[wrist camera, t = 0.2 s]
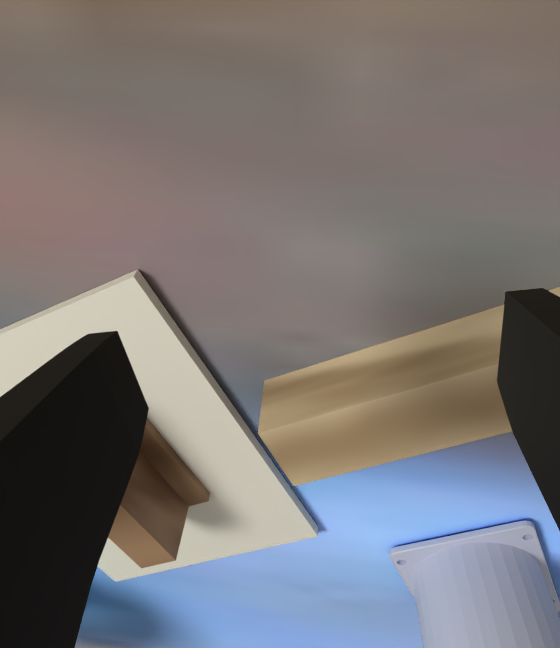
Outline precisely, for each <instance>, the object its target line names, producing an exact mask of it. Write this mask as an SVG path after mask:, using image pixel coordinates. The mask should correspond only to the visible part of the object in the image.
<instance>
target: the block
mask: <svg viewBox="0 0 560 648" xmlns="http://www.w3.org/2000/svg"><path fill="white" fill-rule="evenodd" d="M209 497H210V492H209V491H208V490H207V489H206V488H205V486H204V485H203V484H202V483H201V482H200V480H199V479H198V478H197V477H196V476H195V474H194V473H193V472H192V471H191V470H190V468H189V467H188V466H187V465H186V464H185V462H184V461H183V460H182V459H181V458H180V456H179V455H178V454H177V453H176V452H175V450H174V449H173V448H172V447H171V446H170V444H169V443H168V442H167V441H166V440H165V438H164V437H163V436H162V435H161V434H160V432H159V431H158V430H157V429H156V428H155V426H154V425H153V424H152V423H151V422H150V420H149V419H148V418H147V420H146V425H145V430H144V435H143V439H142V443H141V448H140V452H139V455H138V458H137V461H136V464H135V467H134V469H133V472H132V475H131V478H130V480H129V483H128V486H127V488H126V491H125V494H124V496H123V499H122V502H121V504H120V507H119V510H118V512H117V515H116V518H115V520H114V523H113V525H112V528H111V531H110V533H109V536H108V538H109V539H110V540H111V541H112V542H114V543H115V544H116V545H117V546H118V547H119V548H120V549H121V550H122V551H123V552H124V553H125V554H126V555H128V556H129V557H130V558H131V559H132V560H133V561H134V562H135V563H136V564H137V565H138V566H139V567H140V568H145V567H150V566H154V565H158V564H163V563H167V562H172V561H176V558H177V554H178V550H179V545H180V541H181V537H182V533H183V529H184V525H185V521H186V516H187V512H188V508H189V506H193V505H196V504H200V503H204V502H208V501H209Z"/></svg>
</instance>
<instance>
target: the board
mask: <svg viewBox="0 0 560 648" xmlns="http://www.w3.org/2000/svg"><path fill="white" fill-rule="evenodd" d="M110 331H118V333H119V336H120V338H121V341H122V343H123V346H124V348H125V351H126V353H127V356H128V358H129V361H130V363H131V366H132V368H133V371H134V373H135V375H136V378H137V380H138V383H139V385H140V388H141V390H142V393H143V395H144V398H145V400H146V403H147V405H148V408H149V410H148V415H147V418H148V419H149V420H150V422H151V423H152V424H153V425H154V426H155V428H156V429H157V430H158V431H159V432H160V434H161V435H162V436H163V437H164V438H165V440H166V441H167V442H168V443H169V444H170V446H171V447H172V448H173V449H174V450H175V452H176V453H177V454H178V455H179V456H180V458H181V459H182V460H183V461H184V462H185V464H186V465H187V466H188V467H189V468H190V470H191V471H192V472H193V473H194V474H195V476H196V477H197V478H198V479H199V480H200V482H201V483H202V484H203V485H204V486H205V488H206V489H207V490H208V491H209V492H210V497H209V501H208V502H204V503H200V504H196V505H193V506H189V508H188V512H187V516H186V521H185V525H184V529H183V533H182V537H181V541H180V545H179V550H178V554H177V558H176V561H172V562H167V563H163V564H158V565H154V566H150V567H145V568H140V567H139V566H138V565H137V564H136V563H135V562H134V561H133V560H132V559H131V558H130V557H129V556H128V555H126V554H125V553H124V552H123V551H122V550H121V549H120V548H119V547H118V546H117V545H116V544H115V543H114V542H112V541H111V540H110V539H109V538H108V539H107V541H106V544H105V547H104V549H103V552H102V555H101V557H100V560H99V563H98V567H99V568H100V569H101V570H102V571H104V572H105V573H106V574H107V575H108V576H109V577H110V578H112V579H113V580H114V581H115V582H116V581H121V580H125V579H130V578H134V577H139V576H143V575H148V574H152V573H157V572H161V571H165V570H170V569H174V568H179V567H183V566H188V565H192V564H197V563H201V562H206V561H210V560H215V559H219V558H223V557H228V556H232V555H237V554H241V553H246V552H250V551H255V550H259V549H264V548H268V547H273V546H277V545H282V544H286V543H290V542H295V541H299V540H304V539H308V538H313V537H317V536H318V526H317V525H316V523H315V522H314V520H313V519H312V517H311V516H310V515H309V513H308V512H307V510H306V509H305V507H304V506H303V505H302V503H301V502H300V500H299V499H298V497H297V496H296V495H295V493H294V492H293V490H292V489H291V487H290V486H289V485H288V483H287V482H286V480H285V479H284V477H283V476H282V475H281V473H280V472H279V470H278V469H277V467H276V466H275V465H274V463H273V462H272V460H271V459H270V457H269V456H268V455H267V453H266V452H265V450H264V449H263V447H262V446H261V445H260V443H259V442H258V440H257V439H256V437H255V436H254V435H253V433H252V432H251V430H250V429H249V427H248V426H247V425H246V423H245V422H244V420H243V419H242V417H241V416H240V415H239V413H238V412H237V410H236V409H235V407H234V406H233V404H232V403H231V402H230V400H229V399H228V397H227V396H226V394H225V393H224V392H223V390H222V389H221V387H220V386H219V384H218V383H217V382H216V380H215V379H214V377H213V376H212V374H211V373H210V372H209V370H208V369H207V367H206V366H205V364H204V363H203V362H202V360H201V359H200V357H199V356H198V354H197V353H196V352H195V350H194V349H193V347H192V346H191V344H190V343H189V342H188V340H187V339H186V337H185V336H184V334H183V333H182V332H181V330H180V329H179V327H178V326H177V324H176V323H175V322H174V320H173V319H172V317H171V316H170V314H169V313H168V312H167V310H166V309H165V307H164V306H163V304H162V303H161V301H160V300H159V299H158V297H157V296H156V294H155V293H154V291H153V290H152V289H151V287H150V286H149V284H148V283H147V281H146V280H145V279H144V277H143V276H142V274H141V273H140V271H139V270H135V271H133V272H131V273H128V274H126V275H124V276H121V277H119V278H117V279H115V280H112V281H110V282H108V283H105V284H103V285H101V286H99V287H96V288H94V289H92V290H89V291H87V292H85V293H82V294H80V295H78V296H76V297H73V298H71V299H69V300H66V301H64V302H62V303H60V304H57V305H55V306H53V307H50V308H48V309H46V310H43V311H41V312H39V313H37V314H34V315H32V316H30V317H27V318H25V319H23V320H21V321H18V322H16V323H14V324H11V325H9V326H7V327H4V328H2V329H0V397H1V396H2V395H4V394H5V393H6V392H8V391H9V390H10V389H12V388H13V387H14V386H16V385H17V384H18V383H20V382H21V381H22V380H24V379H25V378H26V377H28V376H29V375H30V374H32V373H33V372H34V371H36V370H37V369H38V368H40V367H41V366H42V365H44V364H45V363H46V362H48V361H49V360H50V359H52V358H53V357H54V356H56V355H57V354H58V353H60V352H61V351H63V350H64V349H65V348H67V347H68V346H70V345H71V344H73V343H74V342H76V341H77V340H79V339H80V338H82V337H84V336H85V335H87V334H90V333H100V332H110Z"/></svg>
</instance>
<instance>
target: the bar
mask: <svg viewBox="0 0 560 648" xmlns="http://www.w3.org/2000/svg"><path fill="white" fill-rule="evenodd" d="M549 292H551V293H553V294H555V295H557V296H559V297H560V287H558V288H555V289H552V290H549ZM503 313H504V305H501V306H498V307H495V308H492V309H489V310H486V311H482V312H479V313H476V314H473V315H470V316H467V317H464V318H460V319H457V320H454V321H451V322H448V323H445V324H442V325H438V326H435V327H432V328H429V329H426V330H423V331H420V332H416V333H413V334H410V335H407V336H404V337H401V338H398V339H394V340H391V341H388V342H385V343H382V344H379V345H376V346H372V347H369V348H366V349H363V350H360V351H357V352H354V353H350V354H347V355H344V356H341V357H338V358H335V359H332V360H328V361H325V362H322V363H319V364H316V365H313V366H310V367H306V368H303V369H300V370H297V371H294V372H291V373H288V374H284V375H281V376H278V377H275V378H272V379H269V380H266V381H264V389H263V397H262V404H261V412H260V420H259V428H258V434H259V436H260V437H261V439H262V440H263V442H264V443H265V445H266V446H267V448H268V449H269V451H270V452H271V454H272V455H273V457H274V458H275V460H276V461H277V463H278V464H279V465H280V467H281V468H282V470H283V471H284V473H285V474H286V476H287V477H288V479H289V480H290V482H291V483H292V485H293V486H296V485H300V484H304V483H308V482H312V481H316V480H320V479H324V478H328V477H332V476H336V475H340V474H344V473H348V472H352V471H356V470H360V469H364V468H368V467H372V466H376V465H380V464H384V463H388V462H392V461H396V460H400V459H404V458H408V457H412V456H416V455H420V454H424V453H428V452H432V451H436V450H440V449H444V448H448V447H452V446H456V445H460V444H464V443H468V442H472V441H476V440H480V439H484V438H488V437H492V436H496V435H500V434H504V433H508V432H512V429H511V426H510V422H509V419H508V416H507V413H506V410H505V407H504V404H503V401H502V397H501V394H500V391H499V387H498V384H497V374H498V364H499V354H500V344H501V333H502V323H503Z"/></svg>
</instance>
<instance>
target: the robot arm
mask: <svg viewBox="0 0 560 648" xmlns="http://www.w3.org/2000/svg"><path fill="white" fill-rule="evenodd" d="M497 384H498V387H499V391H500V394H501V397H502V401H503V404H504V407H505V410H506V413H507V416H508V419H509V422H510V426H511V429H512V431H513V433H514V436H515V438H516V440H517V442H518V444H519V446H520V449H521V451H522V453H523V455H524V457H525V459H526V461H527V463H528V466H529V468H530V470H531V472H532V474H533V476H534V478H535V480H536V482H537V484H538V487H539V489H540V491H541V493H542V495H543V497H544V499H545V501H546V503H547V505H548V507H549V510H550V512H551V514H552V516H553V518H554V520H555V522H556V524H557V526H558V528H559V530H560V297H559V296H557V295H555V294H553V293H551V292H549V291H547V290H545V289H543V288H539V289H529V290H519V291H509V292H506V293H505V303H504V313H503V323H502V333H501V344H500V354H499V364H498V374H497ZM148 410H149V408H148V405H147V403H146V400H145V398H144V395H143V393H142V390H141V388H140V385H139V383H138V380H137V378H136V375H135V373H134V371H133V368H132V366H131V363H130V361H129V358H128V356H127V353H126V351H125V348H124V346H123V343H122V341H121V338H120V336H119V333H118V331H110V332H100V333H90V334H87V335H85V336H84V337H82V338H80V339H79V340H77V341H76V342H74V343H73V344H71V345H70V346H68V347H67V348H65V349H64V350H63V351H61V352H60V353H58V354H57V355H56V356H54V357H53V358H52V359H50V360H49V361H48V362H46V363H45V364H44V365H42V366H41V367H40V368H38V369H37V370H36V371H34V372H33V373H32V374H30V375H29V376H28V377H26V378H25V379H24V380H22V381H21V382H20V383H18V384H17V385H16V386H14V387H13V388H12V389H10V390H9V391H8V392H6V393H5V394H4V395H2V396H1V397H0V648H74V647H75V643H76V639H77V636H78V632H79V628H80V624H81V621H82V617H83V613H84V609H85V606H86V602H87V598H88V594H89V591H90V587H91V584H92V581H93V578H94V575H95V572H96V569H97V566H98V563H99V560H100V557H101V555H102V552H103V549H104V547H105V544H106V541H107V539H108V536H109V533H110V531H111V528H112V525H113V523H114V520H115V518H116V515H117V512H118V510H119V507H120V504H121V502H122V499H123V496H124V494H125V491H126V488H127V486H128V483H129V480H130V478H131V475H132V472H133V469H134V467H135V464H136V461H137V458H138V455H139V452H140V448H141V443H142V439H143V435H144V430H145V425H146V420H147V415H148ZM389 555H390V559H391V561H392V563H393V564H394V566H395V567H396V569H397V571H398V572H399V574H400V576H401V577H402V579H403V581H404V582H405V584H406V585H407V587H408V589H409V590H410V592H411V594H412V595H413V597H414V599H415V600H416V605H417V611H418V618H419V624H420V630H421V637H422V643H423V648H560V618H559V616H558V613H557V612H559V611H560V602H559V599H558V596H557V593H556V590H555V587H554V584H553V581H552V578H551V575H550V572H549V569H548V566H547V563H546V560H545V557H544V554H543V551H542V548H541V545H540V542H539V539H538V536H537V533H536V530H535V527H534V524H533V523H532V522H530V521H526V520H524V521H518V522H513V523H508V524H503V525H499V526H494V527H489V528H484V529H479V530H474V531H470V532H465V533H460V534H455V535H450V536H446V537H441V538H436V539H431V540H426V541H421V542H417V543H412V544H407V545H402V546H397V547H394V548H392V549H390V551H389Z"/></svg>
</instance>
